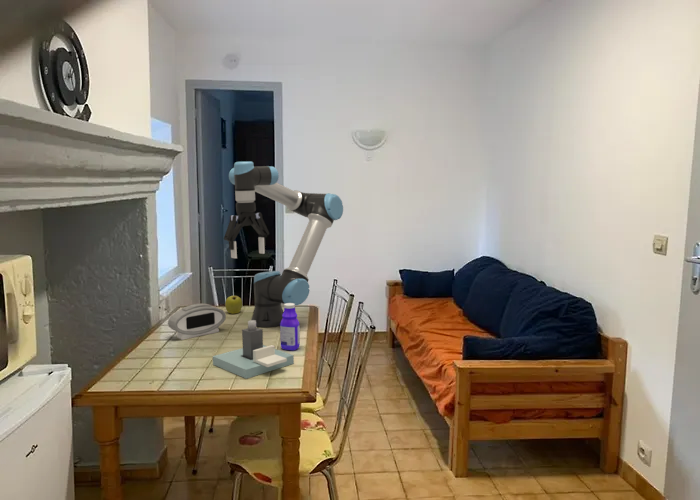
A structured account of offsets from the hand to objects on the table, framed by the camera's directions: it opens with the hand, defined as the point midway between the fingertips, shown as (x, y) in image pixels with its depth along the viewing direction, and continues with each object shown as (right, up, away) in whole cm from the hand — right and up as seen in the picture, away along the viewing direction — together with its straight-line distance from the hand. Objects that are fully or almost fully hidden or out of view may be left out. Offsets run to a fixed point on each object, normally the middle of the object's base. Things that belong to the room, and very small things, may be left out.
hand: (248, 255), depth 219 cm
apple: (-16, -28, +48) cm, 58 cm away
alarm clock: (-23, -33, +13) cm, 42 cm away
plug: (+6, -37, -24) cm, 45 cm away
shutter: (+13, -35, -32) cm, 49 cm away
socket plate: (+6, -38, -24) cm, 45 cm away
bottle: (+17, -35, -7) cm, 40 cm away
